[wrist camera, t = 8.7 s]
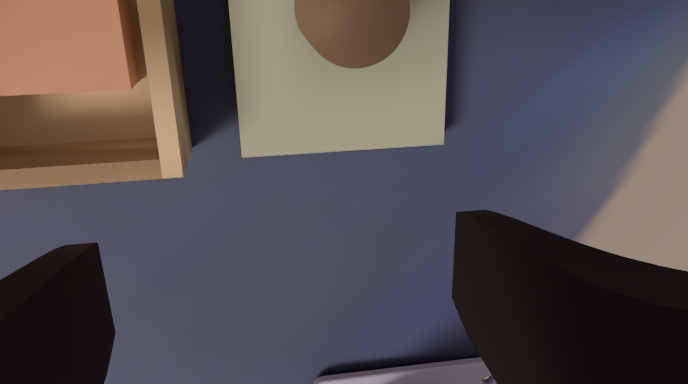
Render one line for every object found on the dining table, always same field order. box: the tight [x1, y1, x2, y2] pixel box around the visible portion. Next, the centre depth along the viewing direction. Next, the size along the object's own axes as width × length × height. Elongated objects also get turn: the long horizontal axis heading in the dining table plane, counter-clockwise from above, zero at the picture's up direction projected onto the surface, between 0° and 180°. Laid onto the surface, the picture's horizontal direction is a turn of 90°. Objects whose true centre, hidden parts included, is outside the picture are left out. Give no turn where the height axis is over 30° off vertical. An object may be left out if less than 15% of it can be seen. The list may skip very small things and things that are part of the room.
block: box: [0, 0, 140, 96], centre depth 17 cm, size 4×4×2 cm
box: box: [0, 0, 192, 190], centre depth 17 cm, size 9×7×3 cm
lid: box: [228, 0, 450, 158], centre depth 18 cm, size 9×7×4 cm
